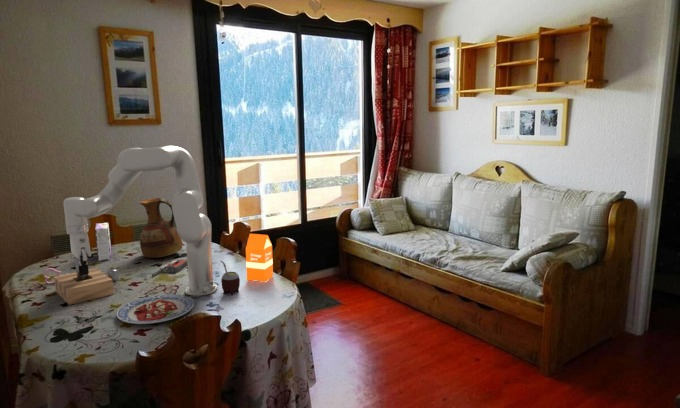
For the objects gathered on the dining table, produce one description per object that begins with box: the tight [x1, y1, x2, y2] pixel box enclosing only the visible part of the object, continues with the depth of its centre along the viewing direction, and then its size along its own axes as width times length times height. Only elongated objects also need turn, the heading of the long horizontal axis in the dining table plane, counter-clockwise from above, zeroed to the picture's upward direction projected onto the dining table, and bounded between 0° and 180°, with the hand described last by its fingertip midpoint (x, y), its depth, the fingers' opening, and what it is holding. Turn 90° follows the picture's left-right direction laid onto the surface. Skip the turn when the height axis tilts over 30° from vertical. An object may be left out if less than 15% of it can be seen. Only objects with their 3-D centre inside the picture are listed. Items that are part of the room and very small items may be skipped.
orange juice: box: [245, 233, 274, 282], centre depth 199 cm, size 8×9×20 cm
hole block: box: [53, 267, 115, 306], centre depth 185 cm, size 20×16×6 cm
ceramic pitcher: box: [139, 197, 183, 259], centre depth 233 cm, size 20×20×30 cm
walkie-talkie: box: [151, 258, 188, 277], centre depth 212 cm, size 9×4×20 cm
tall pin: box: [74, 256, 89, 282], centre depth 184 cm, size 4×4×12 cm
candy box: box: [95, 222, 112, 262], centre depth 233 cm, size 14×6×16 cm, turn 25°
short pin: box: [107, 268, 120, 284], centre depth 198 cm, size 4×4×5 cm
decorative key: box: [43, 267, 69, 285], centre depth 199 cm, size 7×1×20 cm
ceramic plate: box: [116, 293, 195, 325], centre depth 166 cm, size 26×26×3 cm
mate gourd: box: [220, 260, 241, 296], centre depth 183 cm, size 8×8×15 cm
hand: (82, 272), depth 184 cm, fingers closed on tall pin, 4 cm apart
